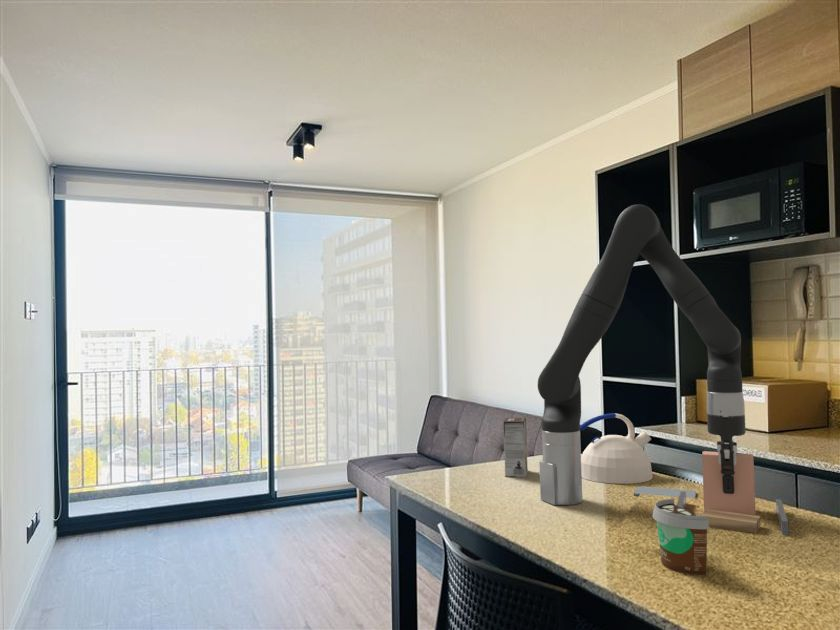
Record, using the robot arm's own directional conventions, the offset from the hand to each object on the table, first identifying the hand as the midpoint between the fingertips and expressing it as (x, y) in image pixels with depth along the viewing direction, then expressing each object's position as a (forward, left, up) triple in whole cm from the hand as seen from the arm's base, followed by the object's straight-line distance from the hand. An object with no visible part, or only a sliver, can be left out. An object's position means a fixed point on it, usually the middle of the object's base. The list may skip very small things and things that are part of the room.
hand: (728, 490), depth 136 cm
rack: (-5, -4, -6) cm, 8 cm away
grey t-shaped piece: (+1, +21, -6) cm, 22 cm away
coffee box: (-20, +59, -6) cm, 62 cm away
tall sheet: (0, 0, -5) cm, 5 cm away
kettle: (+4, +44, -6) cm, 44 cm away
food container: (-32, -18, -6) cm, 37 cm away
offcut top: (-9, -9, -4) cm, 13 cm away
